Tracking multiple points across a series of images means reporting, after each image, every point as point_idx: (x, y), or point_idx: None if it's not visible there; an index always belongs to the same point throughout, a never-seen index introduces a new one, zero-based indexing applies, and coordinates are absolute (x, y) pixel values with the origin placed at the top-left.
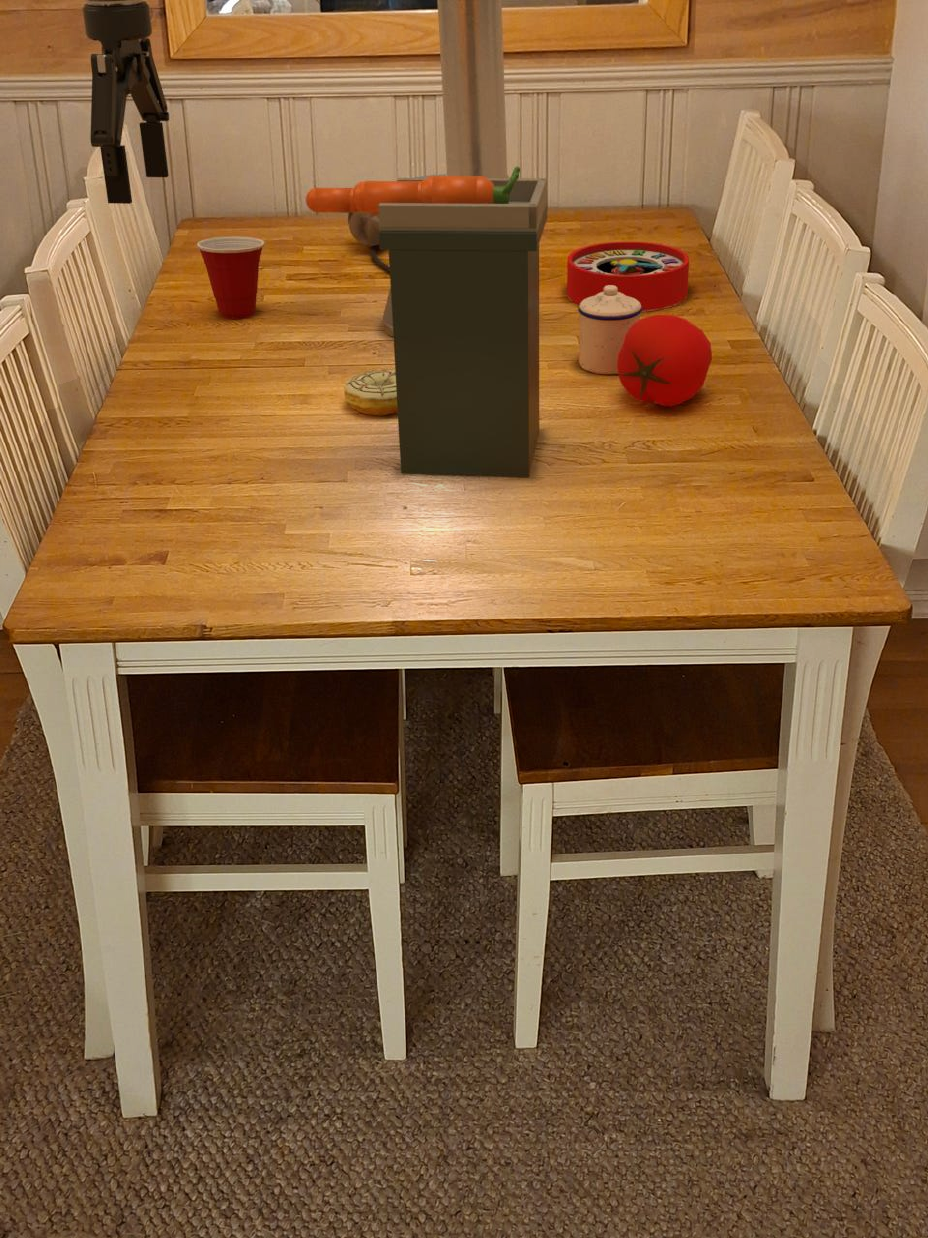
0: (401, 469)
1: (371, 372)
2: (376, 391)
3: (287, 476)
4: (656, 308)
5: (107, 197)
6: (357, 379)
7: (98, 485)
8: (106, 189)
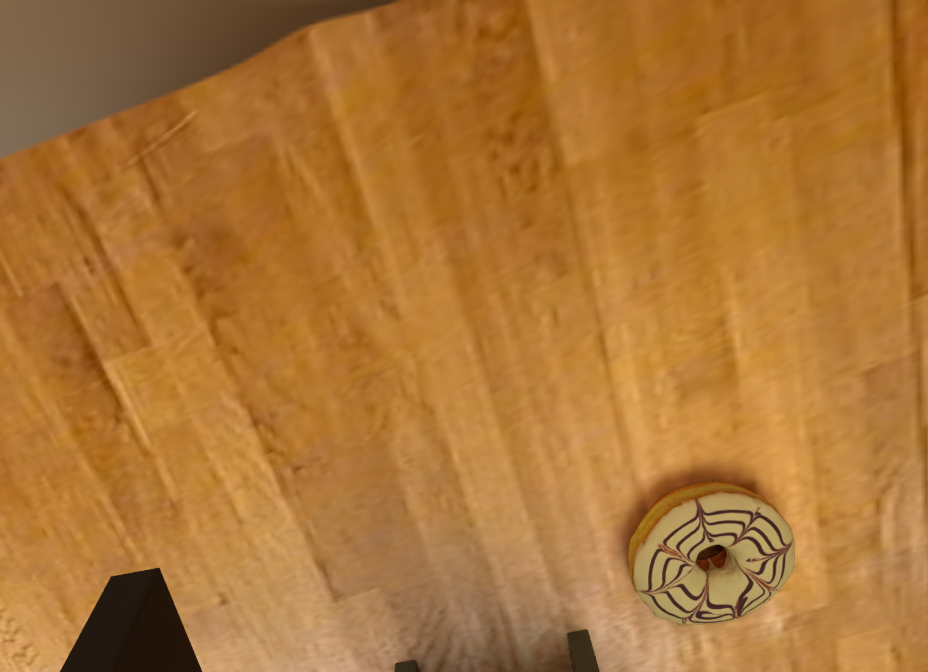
0: (395, 669)
1: (761, 535)
2: (651, 582)
3: (322, 505)
4: None
5: (97, 606)
6: (712, 527)
7: (137, 163)
8: (69, 658)
